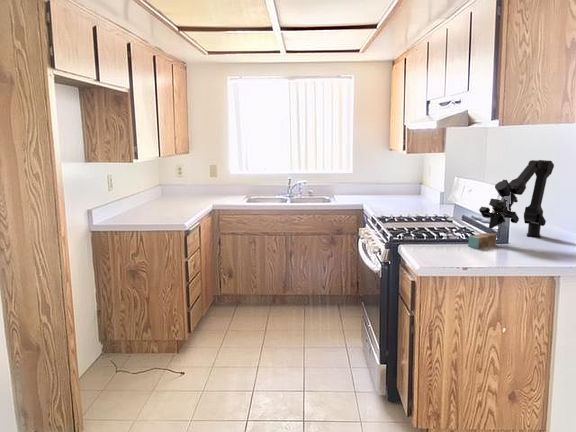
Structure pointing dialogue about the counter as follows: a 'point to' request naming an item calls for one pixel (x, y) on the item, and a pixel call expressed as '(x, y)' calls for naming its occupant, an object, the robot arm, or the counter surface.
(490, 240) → the walnut block
